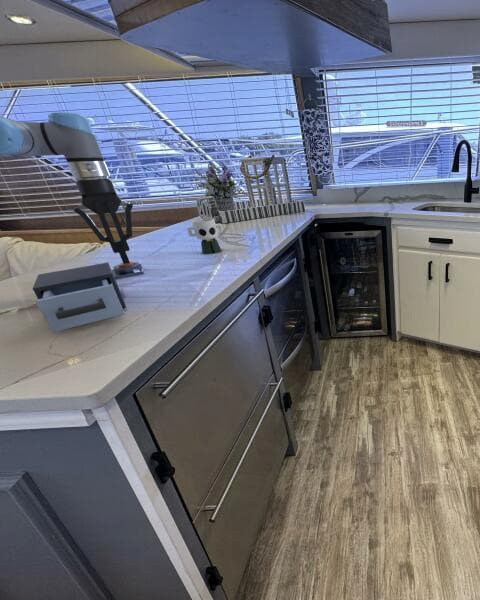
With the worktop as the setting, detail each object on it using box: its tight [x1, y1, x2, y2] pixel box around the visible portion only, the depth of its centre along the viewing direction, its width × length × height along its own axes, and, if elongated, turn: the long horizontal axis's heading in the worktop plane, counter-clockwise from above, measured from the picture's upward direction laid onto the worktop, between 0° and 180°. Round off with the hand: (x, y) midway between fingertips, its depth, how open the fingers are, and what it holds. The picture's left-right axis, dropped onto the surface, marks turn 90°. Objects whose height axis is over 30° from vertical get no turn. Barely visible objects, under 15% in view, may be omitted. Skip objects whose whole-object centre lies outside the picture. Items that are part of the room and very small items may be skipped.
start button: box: [118, 261, 135, 267], centre depth 97 cm, size 4×4×2 cm
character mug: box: [187, 218, 224, 255], centre depth 116 cm, size 11×7×13 cm, turn 128°
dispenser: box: [32, 262, 127, 309], centre depth 75 cm, size 14×13×9 cm
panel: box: [111, 261, 145, 281], centre depth 96 cm, size 12×10×4 cm
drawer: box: [35, 278, 125, 333], centre depth 68 cm, size 17×11×7 cm, turn 43°
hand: (126, 262), depth 96 cm, fingers closed
